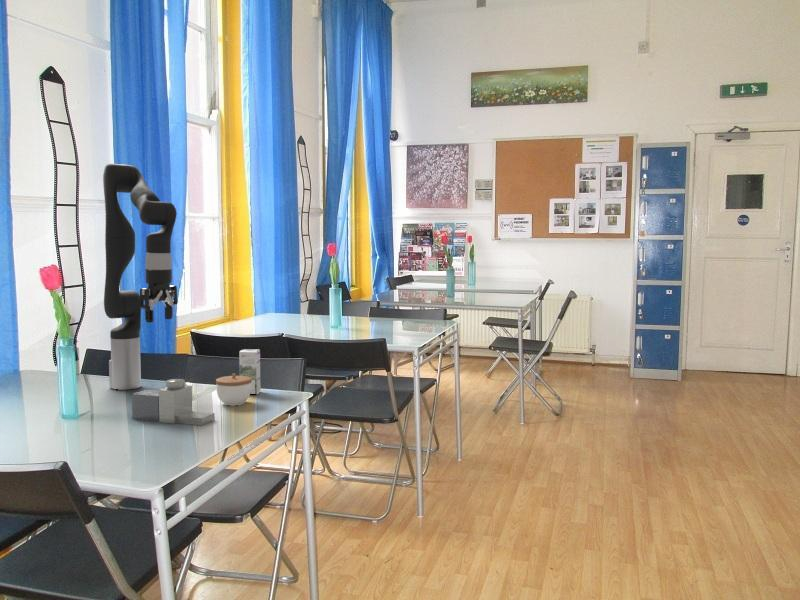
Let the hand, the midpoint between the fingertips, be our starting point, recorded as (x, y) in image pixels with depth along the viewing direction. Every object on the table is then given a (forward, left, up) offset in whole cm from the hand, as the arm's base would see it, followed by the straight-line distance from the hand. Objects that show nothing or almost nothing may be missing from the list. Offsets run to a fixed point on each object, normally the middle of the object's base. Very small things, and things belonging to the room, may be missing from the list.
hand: (159, 320), depth 207 cm
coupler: (+16, -15, -26) cm, 34 cm away
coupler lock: (+9, -15, -26) cm, 31 cm away
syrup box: (+19, +21, -26) cm, 38 cm away
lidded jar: (+22, +7, -26) cm, 34 cm away
